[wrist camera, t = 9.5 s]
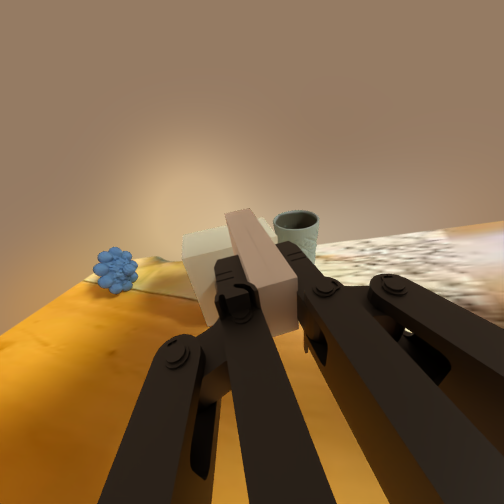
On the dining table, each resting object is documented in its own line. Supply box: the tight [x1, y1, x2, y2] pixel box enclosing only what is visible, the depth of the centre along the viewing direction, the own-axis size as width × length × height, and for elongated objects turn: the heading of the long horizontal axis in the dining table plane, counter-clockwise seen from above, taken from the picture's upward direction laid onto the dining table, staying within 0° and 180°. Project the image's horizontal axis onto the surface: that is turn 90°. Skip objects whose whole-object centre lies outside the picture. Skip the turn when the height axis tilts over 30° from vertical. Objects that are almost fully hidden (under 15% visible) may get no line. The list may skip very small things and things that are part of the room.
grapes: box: [93, 247, 138, 294], centre depth 49 cm, size 12×7×12 cm, turn 177°
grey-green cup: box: [273, 210, 319, 264], centre depth 50 cm, size 10×10×12 cm
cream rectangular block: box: [182, 217, 278, 327], centre depth 40 cm, size 15×8×16 cm, turn 104°
